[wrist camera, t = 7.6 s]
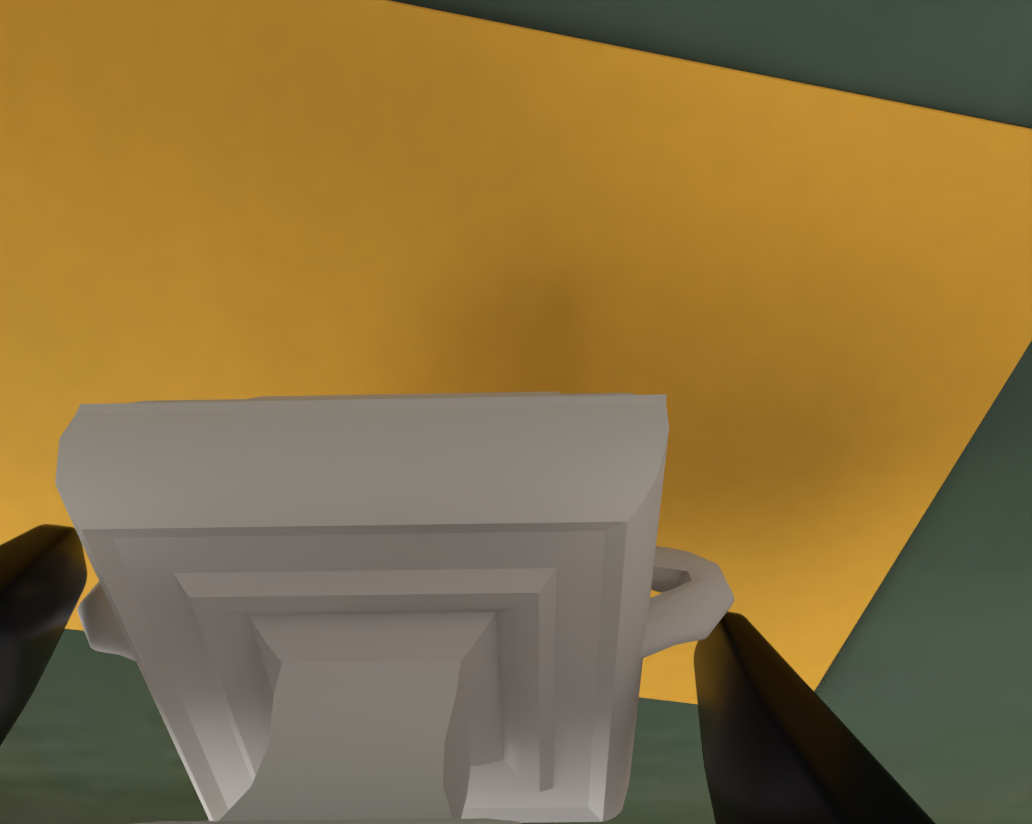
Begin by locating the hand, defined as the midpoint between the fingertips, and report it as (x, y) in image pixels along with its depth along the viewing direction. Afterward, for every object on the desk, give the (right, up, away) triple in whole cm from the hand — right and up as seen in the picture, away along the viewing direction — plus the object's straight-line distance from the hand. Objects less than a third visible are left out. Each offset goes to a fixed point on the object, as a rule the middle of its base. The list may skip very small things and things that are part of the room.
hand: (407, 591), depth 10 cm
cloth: (0, +2, +4) cm, 4 cm away
